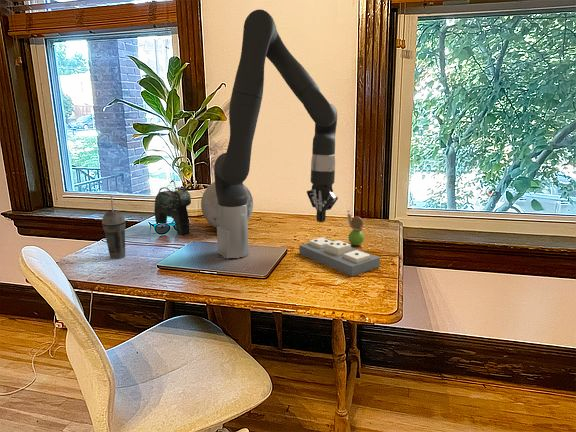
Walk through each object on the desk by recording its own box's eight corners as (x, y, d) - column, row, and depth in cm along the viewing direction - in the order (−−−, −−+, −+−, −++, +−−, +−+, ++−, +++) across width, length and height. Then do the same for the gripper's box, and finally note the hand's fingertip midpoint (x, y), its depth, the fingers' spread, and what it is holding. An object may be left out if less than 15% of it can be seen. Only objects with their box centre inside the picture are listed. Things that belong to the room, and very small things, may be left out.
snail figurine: (350, 240, 158) (352, 208, 155) (366, 244, 154) (368, 211, 151) (342, 244, 154) (343, 211, 151) (358, 248, 150) (360, 214, 147)
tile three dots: (337, 256, 136) (338, 247, 135) (325, 251, 140) (325, 243, 139) (350, 252, 139) (351, 244, 138) (338, 247, 143) (338, 239, 142)
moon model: (192, 234, 167) (189, 182, 161) (217, 220, 185) (214, 173, 180) (241, 239, 161) (239, 185, 155) (261, 224, 179) (260, 175, 174)
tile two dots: (320, 252, 142) (320, 244, 141) (309, 247, 146) (309, 240, 145) (333, 248, 145) (333, 240, 144) (321, 244, 149) (321, 236, 149)
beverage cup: (104, 261, 139) (96, 200, 134) (107, 254, 146) (100, 195, 141) (128, 259, 141) (122, 198, 136) (130, 252, 148) (124, 193, 143)
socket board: (352, 276, 127) (352, 266, 127) (299, 253, 146) (299, 245, 145) (379, 266, 134) (380, 257, 134) (326, 246, 153) (326, 238, 152)
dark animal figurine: (194, 233, 167) (191, 182, 162) (180, 237, 163) (176, 184, 157) (165, 224, 180) (161, 175, 175) (151, 227, 175) (146, 178, 170)
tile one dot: (356, 267, 130) (357, 258, 129) (343, 261, 134) (343, 253, 133) (369, 262, 133) (370, 254, 132) (356, 257, 137) (356, 249, 137)
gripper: (300, 166, 141) (299, 218, 145) (328, 172, 131) (325, 228, 135) (318, 165, 145) (316, 215, 150) (346, 170, 135) (343, 224, 140)
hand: (320, 221), depth 142 cm, fingers closed
